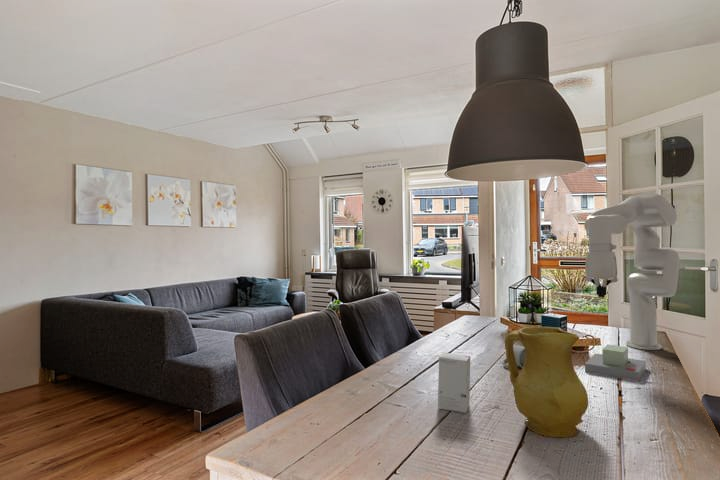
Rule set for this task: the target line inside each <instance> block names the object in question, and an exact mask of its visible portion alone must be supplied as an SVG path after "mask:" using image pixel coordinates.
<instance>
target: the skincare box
mask: <svg viewBox="0 0 720 480" xmlns="http://www.w3.org/2000/svg"><path fill="white" fill-rule="evenodd" d="M470 385H471V356H470V355H465V354H459V353H449V352H443V353H441V355H439V357H438V385H437V386H438V389H437V393H438V394H437V409H438V410H444V411H445V410H447V411H452V412H459V413H463V414H464V413H465V414H466V413H467V411H468V409H469V408H470V400H471V399H470V393H471V391H470V390H471V388H470V387H471V386H470Z"/></svg>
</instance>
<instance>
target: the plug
mask: <svg viewBox="0 0 720 480" xmlns="http://www.w3.org/2000/svg"><path fill="white" fill-rule="evenodd" d="M602 355H603V363H604V364H610V365H614V366H622V367H624V366H625V365H626V363H628V358H629V346H623V345H621V346H620V345H616V344H615V345H614V344H607V345H605V346H604V347H603V348H602Z"/></svg>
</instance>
